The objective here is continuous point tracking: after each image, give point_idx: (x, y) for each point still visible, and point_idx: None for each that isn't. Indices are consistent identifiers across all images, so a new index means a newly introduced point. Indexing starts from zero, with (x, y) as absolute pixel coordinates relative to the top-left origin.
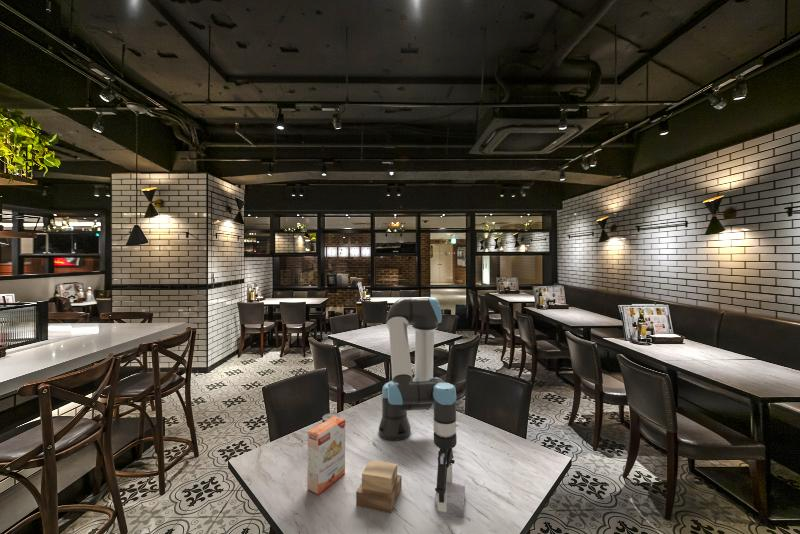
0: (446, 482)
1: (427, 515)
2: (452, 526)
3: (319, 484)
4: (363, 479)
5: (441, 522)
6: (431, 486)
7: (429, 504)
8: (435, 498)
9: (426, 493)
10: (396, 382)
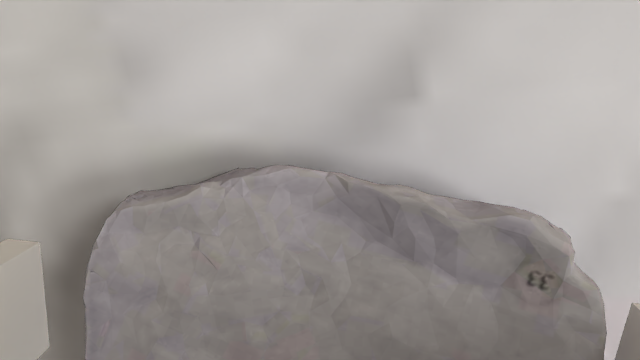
0: (632, 338)
1: (58, 84)
2: None
3: None
4: None
5: None
6: (628, 71)
7: (247, 86)
8: (260, 183)
9: (459, 13)
10: None
